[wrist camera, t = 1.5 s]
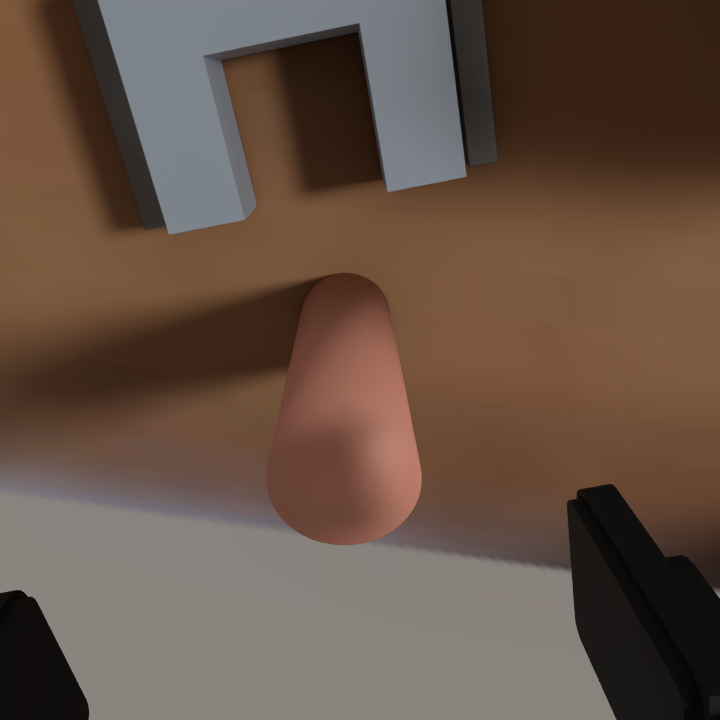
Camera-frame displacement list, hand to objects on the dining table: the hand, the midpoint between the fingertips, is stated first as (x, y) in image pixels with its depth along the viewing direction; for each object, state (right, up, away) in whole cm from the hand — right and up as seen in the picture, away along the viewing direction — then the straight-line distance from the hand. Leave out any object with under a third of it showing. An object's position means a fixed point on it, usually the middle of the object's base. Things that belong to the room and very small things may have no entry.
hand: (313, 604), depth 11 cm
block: (-1, +14, +11) cm, 18 cm away
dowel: (0, +6, +15) cm, 16 cm away
